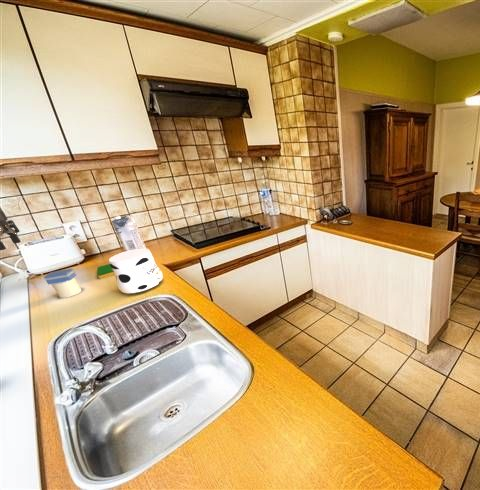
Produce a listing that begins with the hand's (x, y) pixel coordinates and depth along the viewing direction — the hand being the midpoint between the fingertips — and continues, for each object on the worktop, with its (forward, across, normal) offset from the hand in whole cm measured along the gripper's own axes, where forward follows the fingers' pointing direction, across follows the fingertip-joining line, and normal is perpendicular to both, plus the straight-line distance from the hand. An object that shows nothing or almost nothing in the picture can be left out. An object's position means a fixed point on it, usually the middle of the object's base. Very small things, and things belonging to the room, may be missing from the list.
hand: (10, 246), depth 120 cm
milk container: (+26, +15, +47) cm, 56 cm away
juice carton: (+26, -32, +30) cm, 51 cm away
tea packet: (+18, +6, +14) cm, 24 cm away
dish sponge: (+26, -14, +21) cm, 36 cm away
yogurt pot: (+26, +6, +14) cm, 30 cm away
